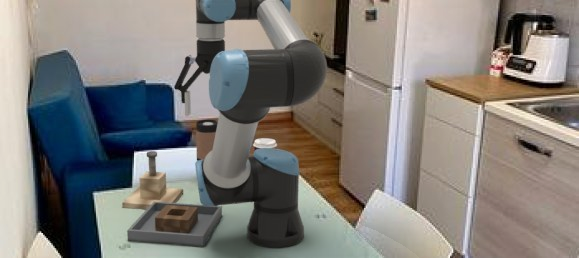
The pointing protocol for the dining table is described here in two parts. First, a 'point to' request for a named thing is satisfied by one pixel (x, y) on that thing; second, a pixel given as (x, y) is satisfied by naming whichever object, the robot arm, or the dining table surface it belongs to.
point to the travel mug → (205, 137)
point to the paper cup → (264, 143)
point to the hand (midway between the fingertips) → (211, 116)
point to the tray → (197, 237)
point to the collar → (176, 219)
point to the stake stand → (152, 188)
